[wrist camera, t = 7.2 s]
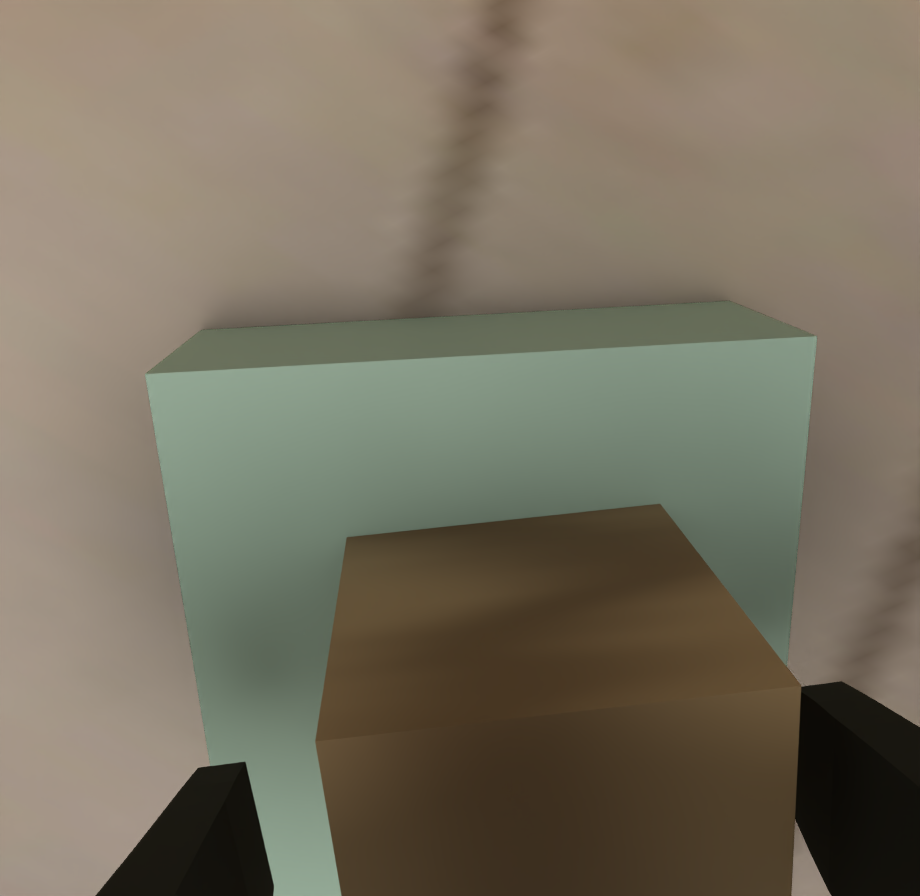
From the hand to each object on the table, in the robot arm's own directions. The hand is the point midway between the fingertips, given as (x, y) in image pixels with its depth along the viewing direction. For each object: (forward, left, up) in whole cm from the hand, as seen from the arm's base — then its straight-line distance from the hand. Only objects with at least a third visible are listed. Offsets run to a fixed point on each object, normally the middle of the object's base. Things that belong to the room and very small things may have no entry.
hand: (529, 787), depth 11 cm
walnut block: (0, 0, -3) cm, 3 cm away
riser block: (0, 0, -7) cm, 7 cm away
